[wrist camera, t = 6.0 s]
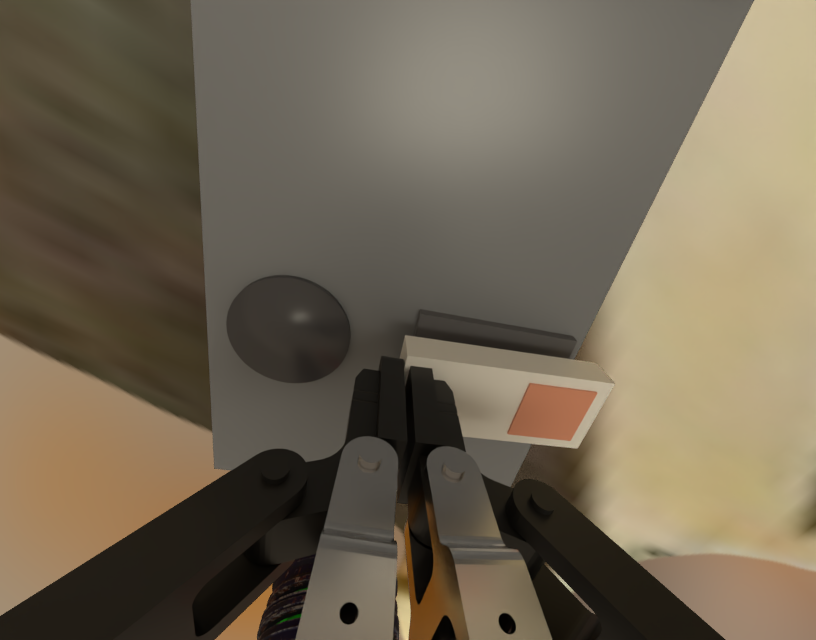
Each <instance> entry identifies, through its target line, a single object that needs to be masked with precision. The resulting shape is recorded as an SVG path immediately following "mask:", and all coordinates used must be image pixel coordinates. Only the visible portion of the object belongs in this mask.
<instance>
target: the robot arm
mask: <svg viewBox="0 0 816 640" xmlns="http://www.w3.org/2000/svg"><path fill="white" fill-rule="evenodd" d="M396 490H397V503H403V504H408V518H407V521H406V524H405V528H404V537H405V549H406V560H407V572H408V583H409V594H410V606H411V620H410V629H409V640H725V639H724V638H723V637H722V636H721V635H720V634H718V633H717V632H716V631H715V630H714V629H713V628H712V627H710V626H709V625H708V624H707V623H706V622H705V621H704V620H702V619H701V618H700V617H699V616H698V615H697V614H696V613H694V612H693V611H692V610H691V609H690V608H689V607H687V606H686V605H685V604H684V603H683V602H682V601H681V600H680V599H679V598H677V597H676V596H675V595H674V594H673V593H672V592H671V591H669V590H668V589H667V588H666V587H665V586H664V585H663V584H661V583H660V582H659V581H658V580H657V579H656V578H655V577H653V576H652V575H651V574H650V573H649V572H648V571H647V570H645V569H644V568H643V567H642V566H641V565H640V564H639V563H638V562H636V561H635V560H634V559H633V558H632V557H631V556H630V555H628V554H627V553H626V552H625V551H624V550H623V549H622V548H620V547H619V546H618V545H617V544H616V543H615V542H614V541H612V540H611V539H610V538H609V537H608V536H607V535H606V534H604V533H603V532H602V531H601V530H600V529H599V528H598V527H597V526H595V525H594V524H593V523H592V522H591V521H590V520H589V519H587V518H586V517H585V516H584V515H583V514H582V513H581V512H579V511H578V510H577V509H576V508H575V507H574V506H573V505H571V504H570V503H569V502H568V501H567V500H566V499H565V498H563V497H562V496H561V495H560V494H559V493H558V492H557V491H555V490H554V489H553V488H552V487H550V486H549V485H547V484H545V483H543V482H540V481H538V480H533V479H525V480H521V481H519V482H518V483H517V484H516V485H515V487H514V488H511V487H509V486H506V485H504V484H501V483H499V482H496V481H494V480H492V479H490V478H488V477H486V476H485V475H483V474H482V473H481V472H480V469H479V467H478V465H477V463H476V462H475V460H474V459H473V458H472V457H471V456H470V455H469V454H467V453H466V449H465V445H464V440H463V436H462V431H461V426H460V422H459V417H458V416H457V408H456V406H455V399H454V395H453V391H452V390H451V389H450V387H449V386H448V385H447V383H446V382H445V381H442V380H434V377H433V370H432V368H425V367H417V366H410V370H409V374H408V378H407V381H406V385H405V375H404V359H400V358H394V357H387V356H381V359H380V364H379V369H378V371H377V370H371V369H363V370H362V371H361V372H360V373H359V374H358V375H357V376H356V378H355V383H354V389H353V395H352V400H351V406H350V412H349V418H348V424H347V431H346V438H345V443H344V445H343V446H342V448H341V449H340V450H339V451H338V452H337V453H335V454H334V455H332V456H330V457H327V458H325V459H321V460H315V461H309V462H305V460H304V459H303V458H302V457H301V456H300V455H299V454H298V453H296V452H294V451H291V450H288V449H278V448H277V449H270V450H266V451H263V452H261V453H259V454H257V455H255V456H254V457H252V458H250V459H249V460H247V461H246V462H244V463H242V464H241V465H239V466H238V467H236V468H235V469H233V470H231V471H230V472H228V473H227V474H225V475H223V476H222V477H220V478H219V479H217V480H216V481H214V482H212V483H211V484H209V485H208V486H206V487H204V488H203V489H201V490H200V491H198V492H197V493H195V494H193V495H192V496H190V497H189V498H187V499H185V500H184V501H182V502H181V503H179V504H177V505H176V506H174V507H173V508H171V509H169V510H168V511H166V512H165V513H163V514H162V515H160V516H158V517H157V518H155V519H154V520H152V521H150V522H149V523H147V524H146V525H144V526H142V527H141V528H139V529H138V530H136V531H135V532H133V533H131V534H130V535H128V536H127V537H125V538H123V539H122V540H120V541H119V542H117V543H115V544H114V545H112V546H111V547H109V548H108V549H106V550H104V551H103V552H101V553H100V554H98V555H96V556H95V557H93V558H92V559H90V560H89V561H87V562H85V563H84V564H82V565H81V566H79V567H77V568H76V569H74V570H73V571H71V572H69V573H68V574H66V575H65V576H63V577H61V578H60V579H58V580H57V581H55V582H53V583H52V584H50V585H49V586H47V587H46V588H44V589H43V590H41V591H39V592H38V593H36V594H34V595H33V596H31V597H30V598H28V599H27V600H25V601H23V602H22V603H20V604H19V605H17V606H15V607H14V608H12V609H11V610H9V611H8V612H6V613H4V614H3V615H1V616H0V640H215V639H216V638H217V637H218V636H219V635H220V634H221V633H222V632H223V631H224V630H225V629H226V628H227V627H228V626H229V625H230V624H231V623H232V622H233V621H234V620H235V619H236V618H237V617H238V616H239V615H240V614H241V613H242V612H244V610H246V609H247V607H248V606H249V605H251V604H252V602H254V601H255V600H256V599H257V598H258V597H259V596H260V595H261V594H262V593H263V592H264V591H265V590H266V589H267V588H268V587H269V586H270V585H271V584H272V583H273V582H274V581H275V580H276V579H277V578H278V577H279V576H281V575H282V574H283V573H284V572H285V571H286V570H287V569H288V568H289V567H290V566H291V564H292V563H293V562H294V560H295V559H298V558H302V557H306V556H310V555H313V554H316V557H315V561H314V565H313V569H312V573H311V577H310V581H309V585H308V589H307V594H306V598H305V602H304V606H303V610H302V614H301V618H300V622H299V626H298V631H297V635H296V639H295V640H397V639H395V638H393V628H394V608H395V589H396V570H397V542H396V541H394V522H395V506H396ZM545 562H547V563H548V564H549V565H550V566H551V567H552V569H553V570H554V571H555V572H556V573H557V574H558V575H559V576H560V577H561V578H562V579H563V580H564V581H565V582H566V583H567V584H568V585H569V586H570V587H571V588H572V589H573V590H574V591H575V592H576V593H577V594H578V595H579V596H580V597H581V598H582V599H583V601H584V602H585V603H586V604H587V605H588V606H589V607H590V608H591V609H592V610H593V611H594V613H595V614H596V615H595V614H593V613H591V612H590V611H589V610H587V609H586V608H585V607H584V606H583V605H582V603H581V602H580V601H579V600H578V599H577V598H576V597H575V596H574V595H573V594H572V593H571V592H570V591H569V590H568V589H567V588H566V587H565V586H564V585H563V584H562V583H561V582H560V580H559V579H558V578H557V577H556V576H555V575H554V574H553V573H552V572H551V571H550V570H549V569H548V568H547V567H546V566H545V565H544V563H545Z"/></svg>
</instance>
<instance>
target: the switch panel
mask: <svg viewBox="0 0 816 640" xmlns="http://www.w3.org/2000/svg"><path fill="white" fill-rule="evenodd" d="M753 1H754V0H191V16H192V36H193V56H194V75H195V95H196V115H197V135H198V155H199V175H200V194H201V214H202V234H203V254H204V274H205V294H206V313H207V333H208V353H209V373H210V393H211V413H212V432H213V451H214V469H223V470H233V469H235V468H236V467H238V466H239V465H241V464H242V463H244V462H246V461H247V460H249V459H250V458H252V457H254V456H255V455H257V454H259V453H261V452H263V451H266V450H270V449H277V448H278V449H288V450H291V451H294V452H296V453H298V454H299V455H300V456H301V457H302V458H303V459H304V460H305V462H309V461H315V460H321V459H325V458H327V457H330V456H332V455H334V454H335V453H337V452H338V451H339V450H340V449H341V448H342V446H343V445H344V443H345V438H346V431H347V424H348V418H349V412H350V406H351V400H352V395H353V389H354V383H355V378H356V376H357V375H358V374H359V373H360V372H361V371H362V370H363V369H371V370H377V371H378V369H379V364H380V359H381V356H387V357H394V358H400V354H401V350H402V346H403V342H404V338H405V335H408V336H415V337H422V338H428V339H435V340H442V341H449V342H456V343H463V344H470V345H477V346H484V347H490V348H497V349H504V350H511V351H518V352H525V353H532V354H539V355H545V356H552V357H559V358H566V359H573V360H574V359H575V357H576V355H577V353H578V351H579V349H580V347H581V345H582V343H583V341H584V339H585V337H586V335H587V333H588V331H589V329H590V327H591V325H592V323H593V321H594V319H595V317H596V315H597V313H598V311H599V309H600V307H601V305H602V303H603V301H604V299H605V297H606V295H607V293H608V291H609V289H610V287H611V285H612V283H613V281H614V279H615V277H616V275H617V273H618V271H619V269H620V267H621V265H622V263H623V261H624V259H625V257H626V255H627V253H628V251H629V249H630V247H631V245H632V243H633V241H634V239H635V237H636V235H637V233H638V231H639V229H640V227H641V225H642V223H643V221H644V219H645V217H646V215H647V213H648V211H649V209H650V207H651V205H652V203H653V201H654V199H655V197H656V195H657V193H658V191H659V189H660V187H661V185H662V183H663V181H664V179H665V177H666V175H667V173H668V171H669V169H670V167H671V165H672V163H673V161H674V159H675V157H676V155H677V153H678V151H679V149H680V147H681V145H682V143H683V141H684V139H685V137H686V135H687V133H688V131H689V129H690V127H691V125H692V123H693V121H694V119H695V117H696V115H697V113H698V111H699V109H700V107H701V105H702V103H703V101H704V99H705V97H706V95H707V93H708V91H709V89H710V87H711V85H712V83H713V81H714V79H715V77H716V75H717V73H718V71H719V69H720V67H721V65H722V63H723V61H724V59H725V57H726V55H727V53H728V51H729V49H730V47H731V45H732V43H733V41H734V39H735V37H736V35H737V33H738V31H739V29H740V27H741V25H742V23H743V21H744V19H745V17H746V15H747V13H748V11H749V9H750V7H751V5H752V3H753ZM463 440H464V445H465V449H466V453H467V454H469V455H470V456H471V457H472V458H473V459H474V460H475V462H476V463H477V465H478V467H479V469H480V472H481V473H482V474H483V475H485V476H486V477H488V478H490V479H492V480H494V481H496V482H499V483H501V484H504V485H506V486H509V487H511V485H512V483H513V481H514V479H515V477H516V475H517V473H518V471H519V469H520V467H521V465H522V463H523V461H524V459H525V457H526V455H527V453H528V451H529V449H530V447H531V445H532V444H529V443H519V442H510V441H500V440H490V439H481V438H471V437H463Z"/></svg>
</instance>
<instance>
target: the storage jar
mask: <svg viewBox="0 0 816 640" xmlns="http://www.w3.org/2000/svg"><path fill="white" fill-rule="evenodd" d="M315 557H316V554H313V555H310V556H306V557H302V558H298V559H295V560H294V562H293V563H292V564H291V566H290V567H289V568H288V569H287V570H286V571H285V572H284V573H283V574H282V575H281V576H279V577H278V578H277V579H276V580H275V581H274V582H273V586H272V590H273V593H272V594H271V595H270V597H269V600H268V603H267V608H266V610H265V611H264V613H263V615H262V620H261V623H260V626H259V631H258V634H257V640H295V639H296V635H297V631H298V626H299V622H300V618H301V614H302V610H303V606H304V602H305V598H306V594H307V589H308V585H309V581H310V577H311V573H312V569H313V565H314V561H315ZM396 596H397V577H396V589H395V598H396ZM393 638H395V639H397V640H399V620H398V616H397V602H396V600H395V608H394V628H393Z"/></svg>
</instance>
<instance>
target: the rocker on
mask: <svg viewBox="0 0 816 640" xmlns="http://www.w3.org/2000/svg"><path fill="white" fill-rule="evenodd" d="M400 359H404V375H405V385H406V381H407V378H408V374H409V370H410V366H417V367H425V368H432V370H433V377H434V380H442V381H445V382H446V383H447V385H448V386H449V387H450V389H451V390H452V391H453V395H454V399H455V406H456V408H457V416H458V417H459V422H460V426H461V431H462V436H463V437H471V438H481V439H490V440H500V441H510V442H519V443H529V444H539V445H548V446H558V447H568V448H577V449H578V447H579V445H580V443H581V442H582V440H583V438H584V437H585V435H586V433H587V431H588V430H589V428H590V426H591V425H592V423H593V421H594V419H595V418H596V416H597V414H598V413H599V411H600V409H601V407H602V406H603V404H604V402H605V401H606V399H607V397H608V396H609V394H610V392H611V390H612V389H613V387H614V385H615V383H614V382H613V381H612V380H611V379H610V378H609V376H608V375H607V374H606V373H605V372H604V371H603V370H602V369H601V368H600V366H599V365H598V364H597V363H594V362H587V361H580V360H573V359H566V358H559V357H552V356H545V355H539V354H532V353H525V352H518V351H511V350H504V349H497V348H490V347H484V346H477V345H470V344H463V343H456V342H449V341H442V340H435V339H428V338H422V337H415V336H408V335H405V338H404V342H403V346H402V350H401V354H400Z"/></svg>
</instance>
